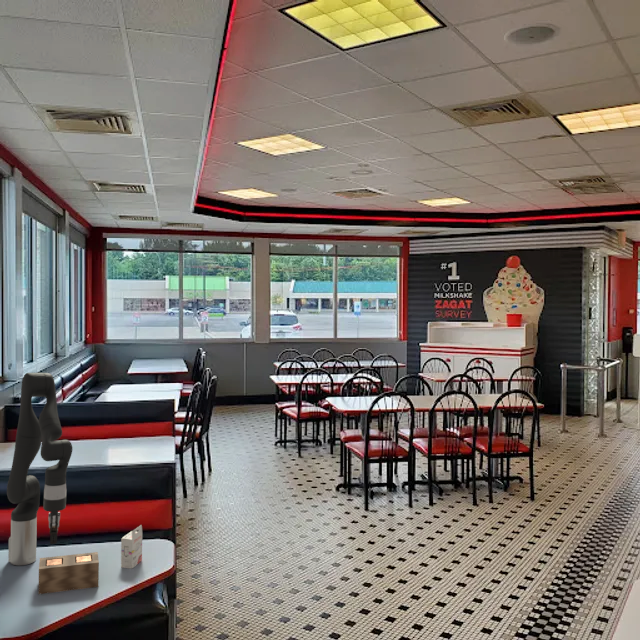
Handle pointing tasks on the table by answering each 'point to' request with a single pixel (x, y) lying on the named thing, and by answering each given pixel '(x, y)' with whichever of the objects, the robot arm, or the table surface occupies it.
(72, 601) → the table surface
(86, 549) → the table surface
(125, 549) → the ink cartridge box
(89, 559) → the peg far
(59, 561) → the peg near
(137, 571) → the table surface
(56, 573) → the walnut block
